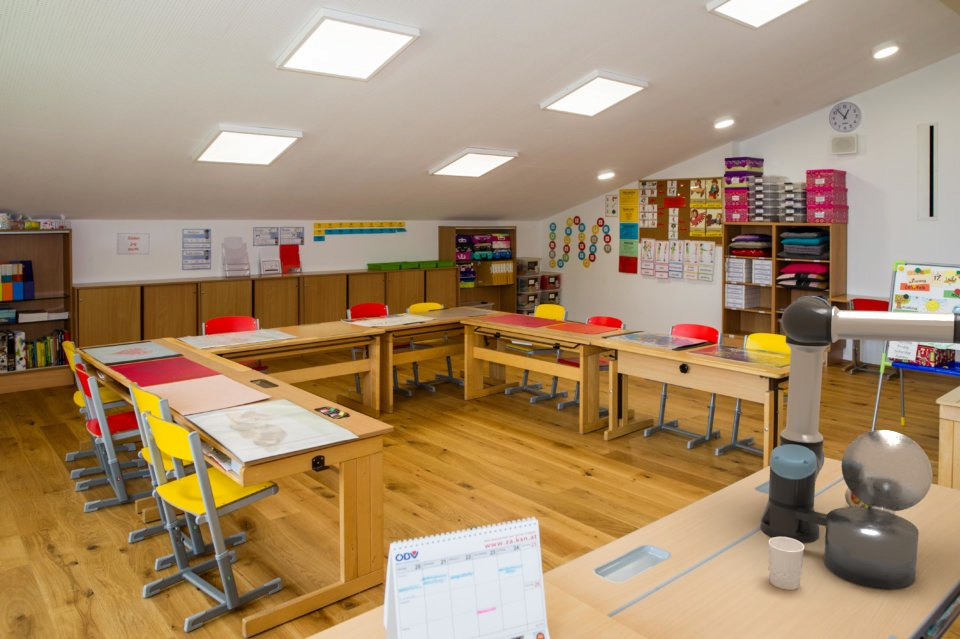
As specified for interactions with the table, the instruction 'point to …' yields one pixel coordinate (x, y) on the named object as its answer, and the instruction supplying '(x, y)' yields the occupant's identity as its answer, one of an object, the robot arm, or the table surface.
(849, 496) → the bird rattle
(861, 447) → the cooker lid
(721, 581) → the table surface
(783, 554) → the white cup
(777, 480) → the robot arm
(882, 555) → the cooker pot
